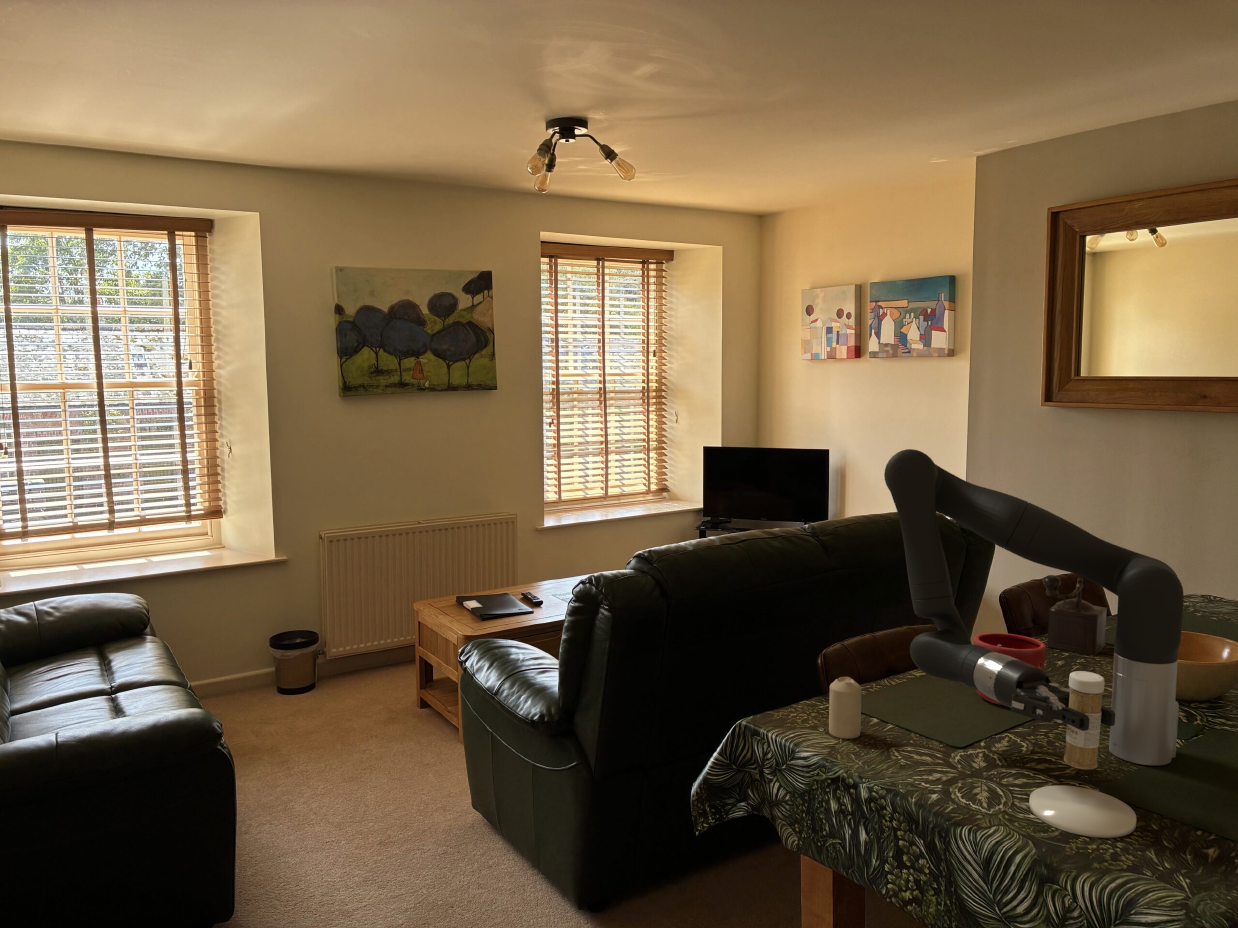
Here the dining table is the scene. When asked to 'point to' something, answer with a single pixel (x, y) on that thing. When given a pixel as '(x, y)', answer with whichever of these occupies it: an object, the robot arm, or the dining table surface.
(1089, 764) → the sprinkles bottle
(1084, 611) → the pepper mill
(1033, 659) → the plant pot
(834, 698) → the candle
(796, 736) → the dining table surface
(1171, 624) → the robot arm
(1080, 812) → the cream plate
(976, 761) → the dining table surface
